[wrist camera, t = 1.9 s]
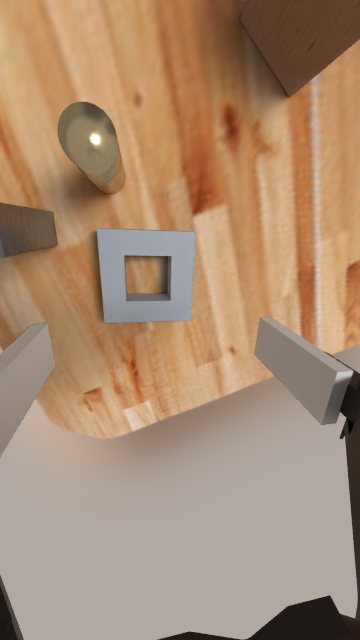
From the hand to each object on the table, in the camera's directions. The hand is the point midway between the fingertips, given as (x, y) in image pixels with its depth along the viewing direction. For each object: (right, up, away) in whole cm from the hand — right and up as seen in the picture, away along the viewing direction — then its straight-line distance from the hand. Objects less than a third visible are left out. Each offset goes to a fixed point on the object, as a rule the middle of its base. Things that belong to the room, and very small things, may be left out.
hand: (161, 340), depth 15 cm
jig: (-4, +8, +20) cm, 22 cm away
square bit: (-17, +13, +16) cm, 26 cm away
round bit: (-8, +19, +15) cm, 26 cm away
